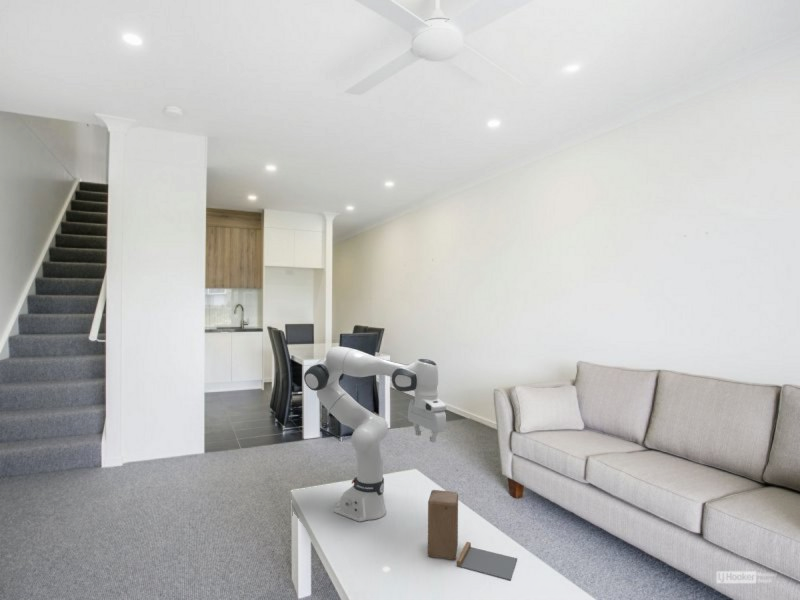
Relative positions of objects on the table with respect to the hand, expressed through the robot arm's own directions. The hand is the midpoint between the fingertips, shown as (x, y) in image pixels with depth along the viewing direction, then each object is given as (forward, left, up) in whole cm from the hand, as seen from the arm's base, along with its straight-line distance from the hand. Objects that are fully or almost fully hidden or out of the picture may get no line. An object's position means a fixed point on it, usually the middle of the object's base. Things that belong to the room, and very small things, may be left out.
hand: (425, 438), depth 164 cm
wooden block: (+9, -6, -38) cm, 39 cm away
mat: (+25, -6, -38) cm, 46 cm away
